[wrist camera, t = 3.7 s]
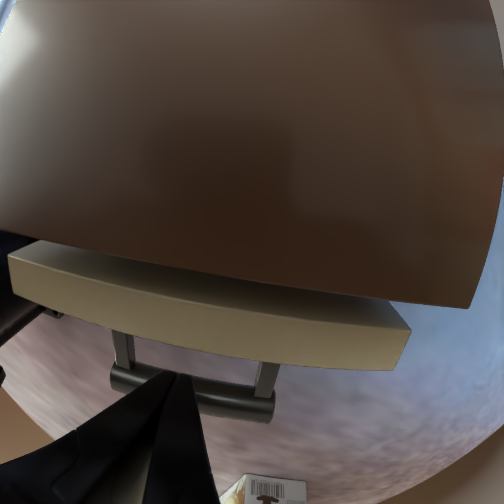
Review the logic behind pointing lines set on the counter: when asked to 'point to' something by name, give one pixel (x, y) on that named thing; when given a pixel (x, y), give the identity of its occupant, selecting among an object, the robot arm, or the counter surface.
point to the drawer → (210, 321)
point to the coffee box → (265, 491)
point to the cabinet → (260, 138)
